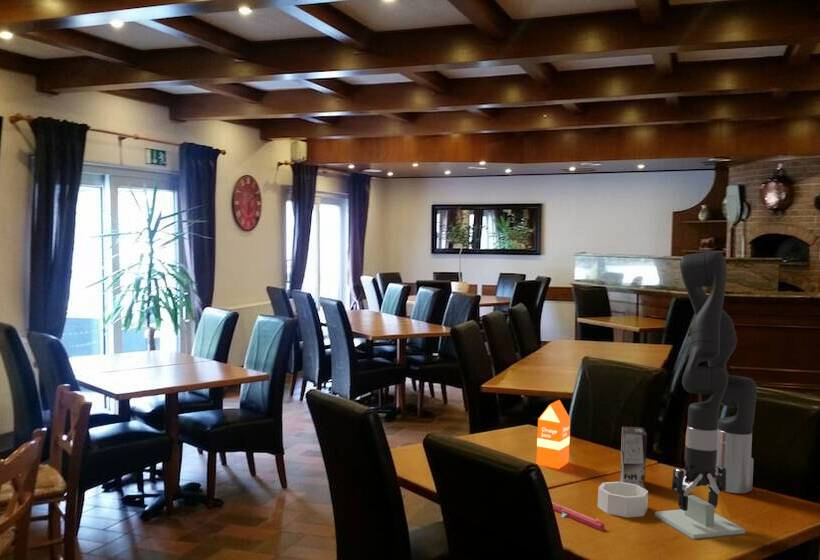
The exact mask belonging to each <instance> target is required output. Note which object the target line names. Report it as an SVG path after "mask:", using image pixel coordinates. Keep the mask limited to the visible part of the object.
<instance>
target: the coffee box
mask: <svg viewBox="0 0 820 560" xmlns="http://www.w3.org/2000/svg"><path fill="white" fill-rule="evenodd" d="M647 442H648V434H647V432H646V430H645V428H644V427H640V426H639V427H638V426H636V427H635V426H622V427H621V442H620V443H621V444H620V445H621V446H620V466H619V467H620V471H619V480H620V482H625V483H630V484H636V485H639V486H640V487H642V488H644V489H645V485H646V484H645V480H646V464H647V463H646V462H647V444H648V443H647Z"/></svg>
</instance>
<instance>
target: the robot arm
mask: <svg viewBox="0 0 820 560" xmlns="http://www.w3.org/2000/svg"><path fill="white" fill-rule="evenodd" d="M679 264H680V265H679V266H680V268H679V269H680V275H681V278H682V282H683V284H684V287H685V290H686V293H687V295H688V298H689V300H690V303H691V306H692V309H693V312H694V319H693V321H692V324H691V328H690V343H689V344H690V347H689V356H688V360H687V363H686V366H685V369H684V371H683V373H682V377H681V378H682V379H681V384H682V387H683V389H684V390H685V391H686V392H688V393H689V394H695V395H696V394H700V395H707V396H710V397H709V398H708V399H706V400H705V401H701V402H700V401H699V402H698V401H697V402H693V403H690V404H689V406H688V409H687V426H686V432H685V440H684V441H685V442H684V445H685V446H684V462H685V466H684V468H677V467H675V468H673V472H672V473H673V474H672V481H671V491H672V492H673V493H676V494H678V503H677V504H678V507H679V510H680V509H682V510H683V511H687V509H688V495H689V493H690V492H691V491H693V490H694V489H695V487H701V486H704V487H707V488H708V490H709V491H708V497H707V499H708V500H707V502H708V503H710V504H712V505H714V506H715V509H717V506H718V503H719V501H718V500H719V495H720V492H726V493H731V494H747V493H749V492H751V491H753V479H754V476H753V475H754V458H753V457H752V442H753V426H754V422H755V415H756V407H757V405H756V404H757V397H758V388H757V387H758V386H757V384H756V381H755V380H754V379H753V378H750V377H746V376H742V375H741V376H740V375H739V376H738V375H733V374H730V373H729V372H728V368H727V363H728V361H729V359H730V357H731V355H732V354H733V353H734V351H735V350H736V347H737V343H738V337H737V333H736V328H735V325H734V321H733V319H732V318H731V316H730V315H729V314H728V313H727V312H726V311H725V310H724V309H723V306H724V302H725V301H724V300H725V293H726V285H727V277H728V276H727V275H728V270H727V269H728V268H727V263H726V258H725V256H724V255H723V253H722V252H720V251H719V250H718V251H717V250H715V251H714V250H713V251H707V252H706V251H705V252H698V253H690V254H686V255H683V256H682V257H681V259H680V262H679ZM706 287H711V288H710V292H709V294H708V295H707V294H706V292H705V290H704V288H706ZM702 362H707V365H708V366H706V365H704V366H703V365H699V364H700V363H702ZM721 406H725V407H730V408H735V409H737V411H736V414H734V415H731V416H727V417H726V416H725V417H722V418H719V412H720V407H721Z"/></svg>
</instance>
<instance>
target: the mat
mask: <svg viewBox="0 0 820 560" xmlns="http://www.w3.org/2000/svg"><path fill="white" fill-rule="evenodd" d="M652 516H653V517H654V518H656V519H657V520H659V521H661V522H662V523H664V524H666V525H667V526H669V527H671V528H672V529H674V530H676V531H678V532H680V533H681V534H683V535H684V536H686V537H687V538H688V539H691V540H693V541H695V540H704V539H714V538H723V537H732V536H733V537H734V536H740V535H742V536H743V535H748V532H745V533H742V534H732V535H723V536H713V537H704V538H695V539H693V538H691V537H690V536H688V535H686V534H685V533H683V532H681V531H680V530H678V529H676V528H675V527H673V526H671V525H670V524H668V523H666V522H665V521H663V520H661V519H660V518H658V517H657V516H655V514H652Z"/></svg>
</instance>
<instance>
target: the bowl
mask: <svg viewBox="0 0 820 560" xmlns="http://www.w3.org/2000/svg"><path fill="white" fill-rule="evenodd" d="M597 488H598V489H597V508H598V509H600V510H602V511H603V512H604V513H606V514H607V515H612V516H618V517H623V518H635V517H644V516H645V515H646V513H647V512H648V501H649V500H648V499H649V491H648V490H647V489H646V488H645V487H644V488H642V487H640V486H639V485H636V484H630V483H625V482H621V481H608V482H607V481H605V482H602V483H601V484H600V485H599V486H598V487H597Z"/></svg>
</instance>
